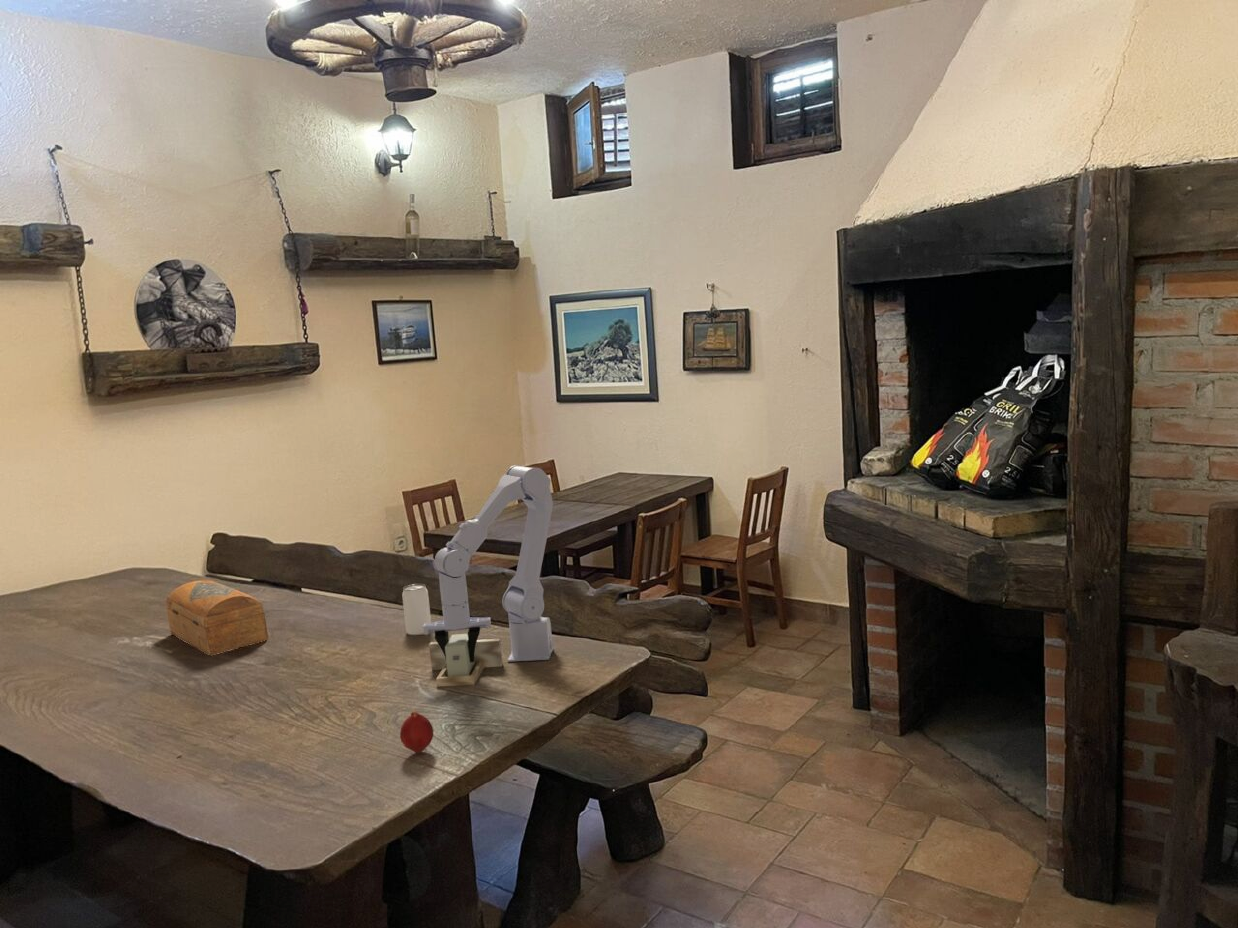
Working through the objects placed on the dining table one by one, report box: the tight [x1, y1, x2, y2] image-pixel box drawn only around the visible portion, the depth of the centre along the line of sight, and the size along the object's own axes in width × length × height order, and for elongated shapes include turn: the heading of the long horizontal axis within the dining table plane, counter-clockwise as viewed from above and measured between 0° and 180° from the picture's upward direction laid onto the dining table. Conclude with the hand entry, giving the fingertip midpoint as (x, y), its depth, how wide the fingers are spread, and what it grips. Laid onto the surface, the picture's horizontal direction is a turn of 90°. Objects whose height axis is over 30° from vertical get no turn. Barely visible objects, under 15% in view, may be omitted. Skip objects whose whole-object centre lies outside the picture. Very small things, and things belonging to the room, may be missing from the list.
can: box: [401, 583, 432, 636], centre depth 232 cm, size 6×6×12 cm
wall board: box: [428, 638, 503, 687], centre depth 199 cm, size 16×12×6 cm
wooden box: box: [166, 579, 269, 655], centre depth 240 cm, size 30×16×14 cm, turn 43°
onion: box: [399, 710, 434, 754], centre depth 162 cm, size 6×6×8 cm
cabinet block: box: [445, 633, 475, 677], centre depth 199 cm, size 4×8×7 cm, turn 179°
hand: (461, 661), depth 199 cm, fingers closed on cabinet block, 4 cm apart
